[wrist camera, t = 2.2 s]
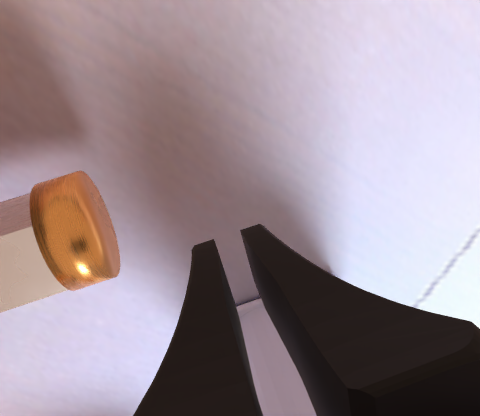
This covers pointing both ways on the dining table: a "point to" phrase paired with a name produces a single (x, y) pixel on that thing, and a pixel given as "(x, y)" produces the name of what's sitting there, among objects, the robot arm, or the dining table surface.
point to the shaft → (55, 241)
